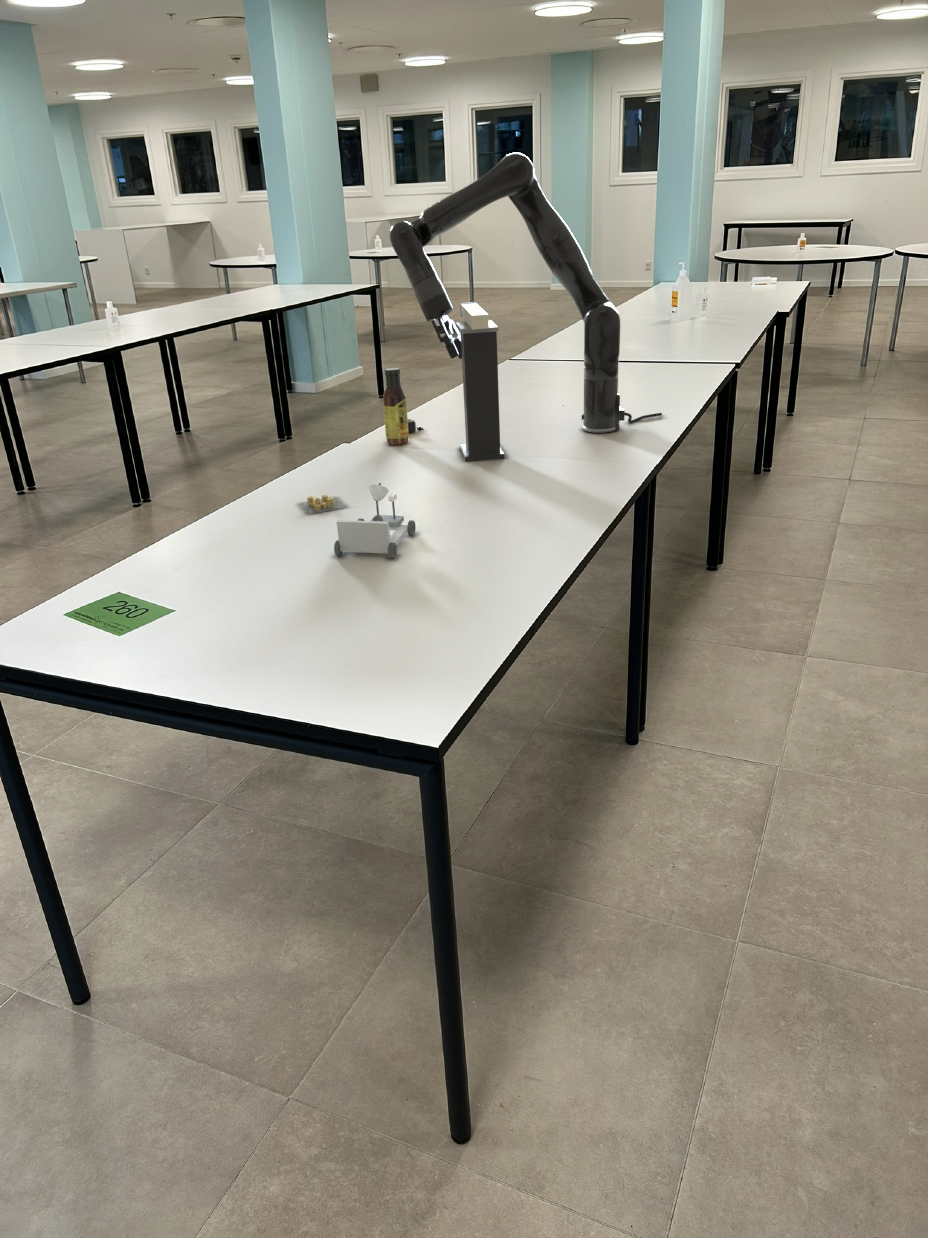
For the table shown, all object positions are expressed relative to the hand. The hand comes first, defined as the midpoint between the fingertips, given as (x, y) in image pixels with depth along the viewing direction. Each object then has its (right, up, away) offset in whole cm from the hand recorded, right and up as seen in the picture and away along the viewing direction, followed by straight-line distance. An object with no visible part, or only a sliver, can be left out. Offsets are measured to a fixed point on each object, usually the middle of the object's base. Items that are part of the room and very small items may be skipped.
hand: (459, 357), depth 234 cm
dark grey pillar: (+6, -25, -2) cm, 26 cm away
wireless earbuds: (-14, -15, +23) cm, 31 cm away
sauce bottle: (-17, -20, +12) cm, 29 cm away
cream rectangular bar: (+4, +5, -12) cm, 14 cm away
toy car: (-16, -53, -57) cm, 80 cm away
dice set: (-30, -43, -35) cm, 63 cm away
